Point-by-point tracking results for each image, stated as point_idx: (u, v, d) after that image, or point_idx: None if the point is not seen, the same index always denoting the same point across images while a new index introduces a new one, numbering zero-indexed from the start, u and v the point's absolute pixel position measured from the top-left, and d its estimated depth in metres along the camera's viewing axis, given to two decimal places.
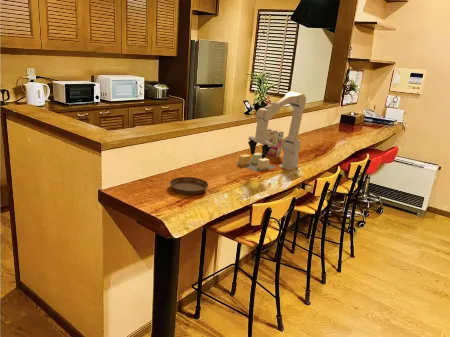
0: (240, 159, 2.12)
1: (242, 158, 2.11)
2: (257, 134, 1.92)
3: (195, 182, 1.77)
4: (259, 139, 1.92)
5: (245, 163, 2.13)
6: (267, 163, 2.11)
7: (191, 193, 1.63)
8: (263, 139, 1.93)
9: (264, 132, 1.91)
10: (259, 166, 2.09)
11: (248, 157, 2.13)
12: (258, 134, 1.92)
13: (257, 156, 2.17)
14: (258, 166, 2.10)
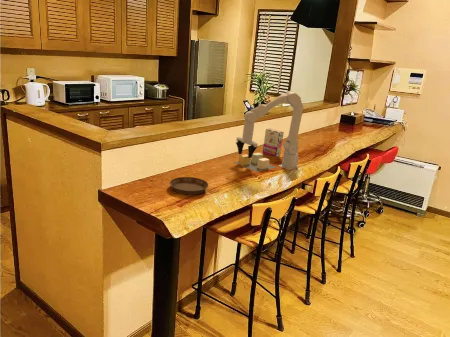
0: (240, 159, 2.12)
1: (242, 158, 2.11)
2: (244, 135, 2.07)
3: (195, 182, 1.77)
4: (246, 140, 2.07)
5: (245, 163, 2.13)
6: (267, 163, 2.11)
7: (191, 193, 1.63)
8: (249, 140, 2.08)
9: (247, 133, 2.06)
10: (259, 166, 2.09)
11: None
12: (244, 135, 2.07)
13: (257, 156, 2.17)
14: (258, 166, 2.10)
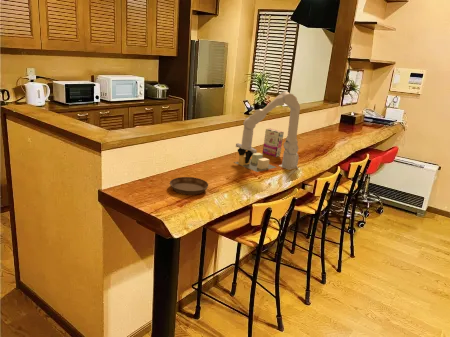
0: (240, 159, 2.12)
1: (242, 158, 2.11)
2: (243, 141, 2.08)
3: (195, 182, 1.77)
4: (245, 146, 2.08)
5: (245, 163, 2.13)
6: (267, 163, 2.11)
7: (191, 193, 1.63)
8: (249, 146, 2.09)
9: (247, 140, 2.07)
10: (259, 166, 2.09)
11: None
12: (244, 141, 2.08)
13: (257, 156, 2.17)
14: (258, 166, 2.10)
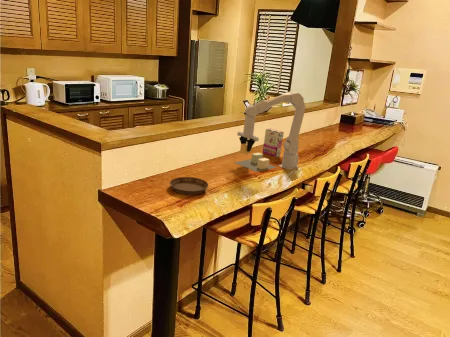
0: (242, 147, 2.10)
1: (244, 146, 2.08)
2: (245, 129, 2.06)
3: (195, 182, 1.77)
4: (247, 134, 2.06)
5: (247, 152, 2.10)
6: (267, 163, 2.11)
7: (191, 193, 1.63)
8: (250, 134, 2.06)
9: (249, 127, 2.05)
10: (259, 166, 2.09)
11: None
12: (245, 129, 2.06)
13: (257, 156, 2.17)
14: (258, 166, 2.10)
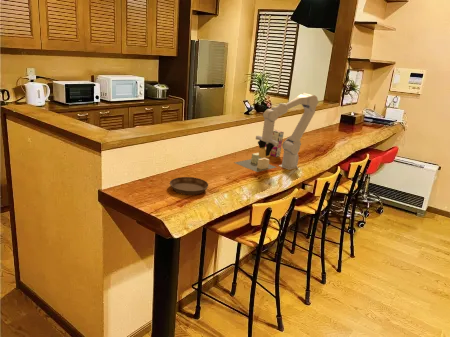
0: (260, 152, 2.07)
1: (263, 151, 2.05)
2: (264, 133, 2.03)
3: (195, 182, 1.77)
4: (266, 138, 2.03)
5: (265, 156, 2.07)
6: (267, 163, 2.11)
7: (191, 193, 1.63)
8: (270, 138, 2.04)
9: (269, 132, 2.02)
10: (259, 166, 2.09)
11: None
12: (264, 133, 2.03)
13: (257, 156, 2.17)
14: (258, 166, 2.10)
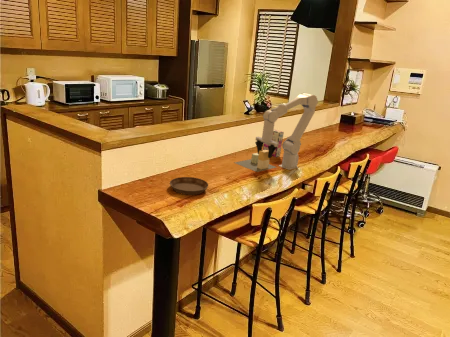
0: (260, 154, 2.07)
1: (262, 153, 2.06)
2: (264, 135, 2.04)
3: (195, 182, 1.77)
4: (266, 139, 2.04)
5: (265, 158, 2.08)
6: (267, 163, 2.11)
7: (191, 193, 1.63)
8: (269, 139, 2.04)
9: (269, 133, 2.02)
10: (259, 166, 2.09)
11: (268, 152, 2.08)
12: (264, 134, 2.03)
13: (257, 156, 2.17)
14: (258, 166, 2.10)
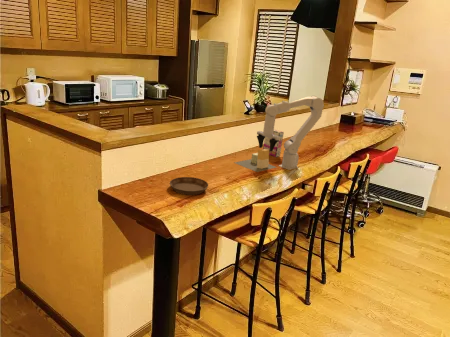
0: (259, 154, 2.08)
1: (261, 152, 2.07)
2: (265, 129, 2.08)
3: (195, 182, 1.77)
4: (267, 133, 2.08)
5: (264, 157, 2.09)
6: (267, 162, 2.11)
7: (191, 193, 1.63)
8: (271, 133, 2.09)
9: (269, 126, 2.07)
10: (259, 166, 2.09)
11: (267, 151, 2.09)
12: (266, 128, 2.08)
13: (257, 156, 2.17)
14: (258, 166, 2.10)
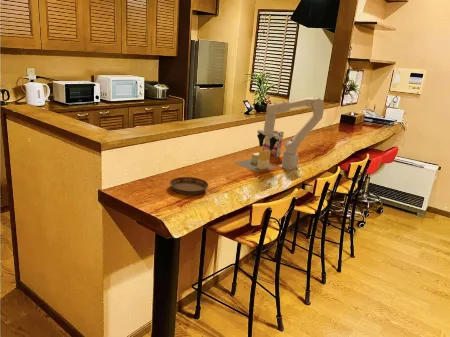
0: (260, 154, 2.07)
1: (263, 153, 2.06)
2: (265, 128, 2.11)
3: (195, 182, 1.77)
4: (267, 132, 2.11)
5: (265, 158, 2.08)
6: (267, 163, 2.11)
7: (191, 193, 1.63)
8: (271, 132, 2.11)
9: (268, 125, 2.10)
10: (259, 166, 2.09)
11: (268, 152, 2.09)
12: (266, 127, 2.11)
13: (257, 156, 2.17)
14: (258, 166, 2.10)
